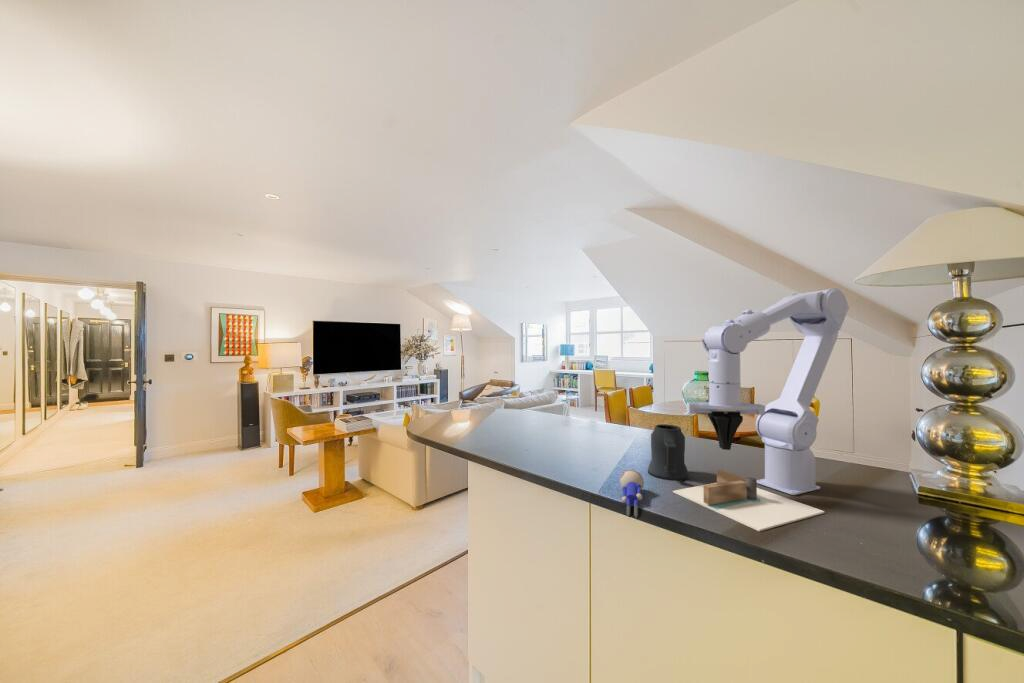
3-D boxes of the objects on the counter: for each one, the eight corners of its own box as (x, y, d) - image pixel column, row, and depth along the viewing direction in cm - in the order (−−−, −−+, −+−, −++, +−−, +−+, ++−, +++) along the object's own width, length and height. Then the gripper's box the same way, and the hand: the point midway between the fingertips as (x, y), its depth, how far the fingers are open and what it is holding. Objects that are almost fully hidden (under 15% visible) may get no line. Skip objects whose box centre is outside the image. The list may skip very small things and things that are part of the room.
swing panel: (740, 496, 74) (740, 480, 74) (746, 499, 73) (746, 482, 73) (703, 502, 71) (703, 485, 71) (708, 504, 70) (708, 487, 70)
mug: (646, 466, 95) (646, 421, 95) (685, 469, 93) (685, 424, 93) (649, 482, 84) (649, 432, 84) (694, 487, 81) (694, 434, 81)
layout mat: (732, 480, 85) (732, 478, 85) (824, 512, 69) (824, 510, 69) (672, 492, 78) (672, 490, 78) (759, 531, 62) (759, 529, 62)
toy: (649, 526, 66) (646, 484, 80) (640, 501, 65) (638, 464, 80) (623, 530, 67) (624, 488, 81) (614, 506, 67) (617, 468, 81)
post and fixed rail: (722, 487, 81) (721, 467, 81) (759, 501, 74) (758, 479, 74) (715, 488, 80) (715, 468, 80) (752, 503, 73) (752, 481, 73)
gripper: (752, 381, 81) (753, 444, 81) (681, 380, 83) (682, 442, 83) (770, 384, 74) (770, 454, 74) (692, 383, 76) (692, 451, 76)
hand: (724, 448), depth 78 cm, fingers closed
